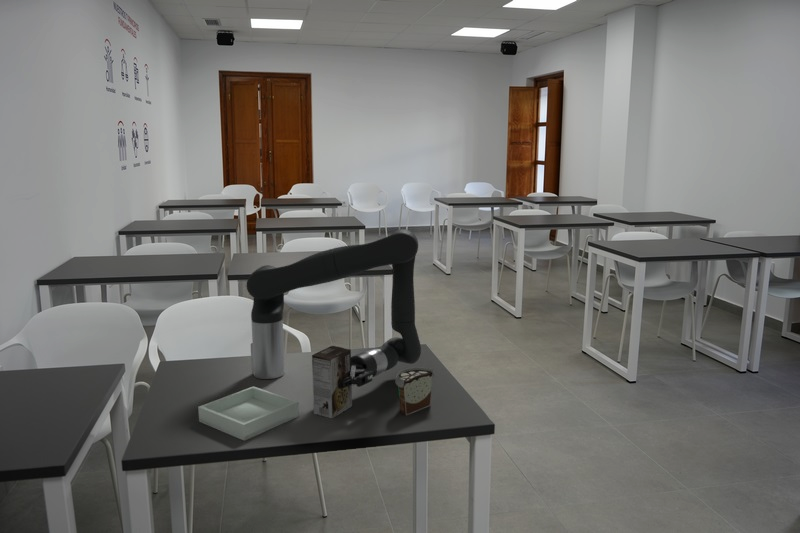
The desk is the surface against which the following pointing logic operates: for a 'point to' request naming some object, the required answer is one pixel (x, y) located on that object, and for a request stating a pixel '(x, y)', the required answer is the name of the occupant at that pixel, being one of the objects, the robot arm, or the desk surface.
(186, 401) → the desk surface
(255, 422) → the tray
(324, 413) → the brown cardboard box
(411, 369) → the food container
